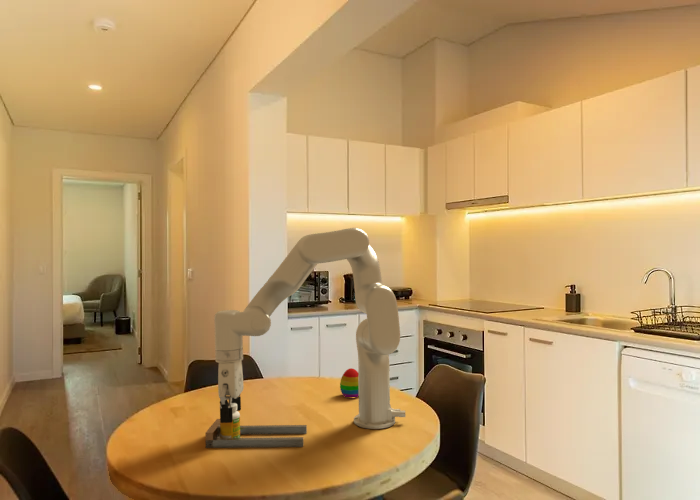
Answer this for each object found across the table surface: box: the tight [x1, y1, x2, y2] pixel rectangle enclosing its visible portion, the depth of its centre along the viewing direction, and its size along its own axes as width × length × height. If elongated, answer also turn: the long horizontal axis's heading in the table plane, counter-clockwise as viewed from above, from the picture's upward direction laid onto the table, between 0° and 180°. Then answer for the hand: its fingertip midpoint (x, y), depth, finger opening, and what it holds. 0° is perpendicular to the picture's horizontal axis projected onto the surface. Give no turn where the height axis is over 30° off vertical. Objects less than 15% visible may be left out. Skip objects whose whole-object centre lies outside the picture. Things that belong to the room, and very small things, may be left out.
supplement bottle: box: [220, 403, 241, 438], centre depth 135 cm, size 5×5×10 cm
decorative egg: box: [339, 368, 359, 398], centre depth 176 cm, size 8×8×10 cm
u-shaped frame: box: [205, 418, 308, 449], centre depth 135 cm, size 26×11×4 cm, turn 90°
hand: (231, 416), depth 136 cm, fingers open, 9 cm apart
